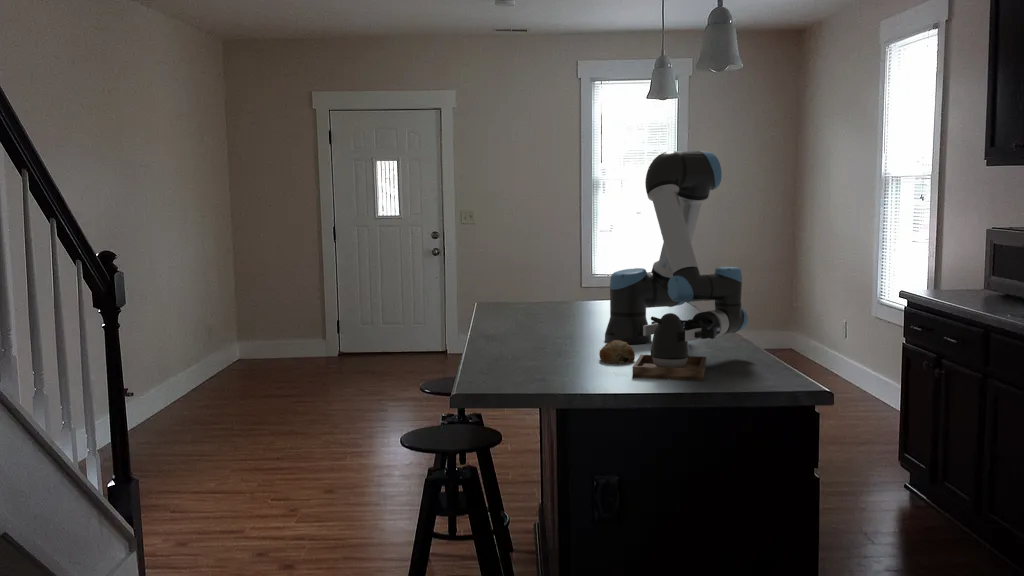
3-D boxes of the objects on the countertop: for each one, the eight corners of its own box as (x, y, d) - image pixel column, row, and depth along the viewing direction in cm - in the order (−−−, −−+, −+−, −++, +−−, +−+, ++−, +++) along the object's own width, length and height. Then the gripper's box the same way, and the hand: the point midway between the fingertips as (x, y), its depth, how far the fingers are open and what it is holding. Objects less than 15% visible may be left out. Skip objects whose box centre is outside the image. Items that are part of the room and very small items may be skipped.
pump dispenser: (646, 365, 244) (646, 310, 242) (683, 364, 244) (683, 310, 243) (654, 373, 234) (655, 316, 232) (693, 372, 234) (694, 315, 233)
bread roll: (608, 377, 252) (614, 354, 248) (590, 356, 259) (596, 334, 256) (636, 373, 256) (643, 350, 252) (618, 353, 264) (625, 331, 260)
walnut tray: (632, 377, 233) (632, 366, 232) (640, 364, 250) (640, 354, 250) (702, 381, 228) (702, 369, 228) (705, 367, 245) (706, 356, 245)
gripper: (748, 342, 242) (704, 353, 228) (672, 332, 260) (627, 342, 245) (748, 315, 242) (704, 324, 227) (673, 307, 259) (627, 315, 245)
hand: (664, 333), depth 236 cm, fingers open, 13 cm apart
